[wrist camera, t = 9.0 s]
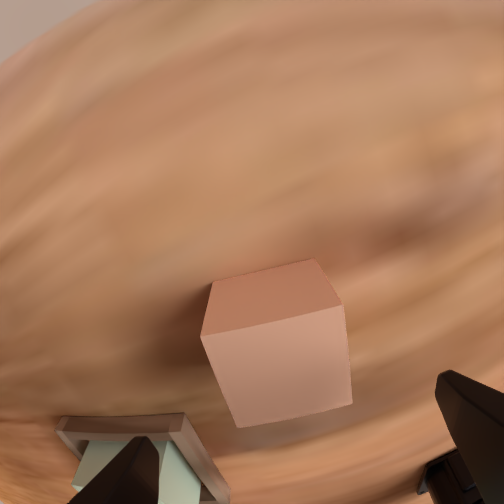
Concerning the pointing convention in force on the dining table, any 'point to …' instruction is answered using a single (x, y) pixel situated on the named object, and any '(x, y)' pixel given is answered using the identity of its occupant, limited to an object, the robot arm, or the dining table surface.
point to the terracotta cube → (278, 344)
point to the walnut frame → (156, 429)
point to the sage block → (170, 470)
